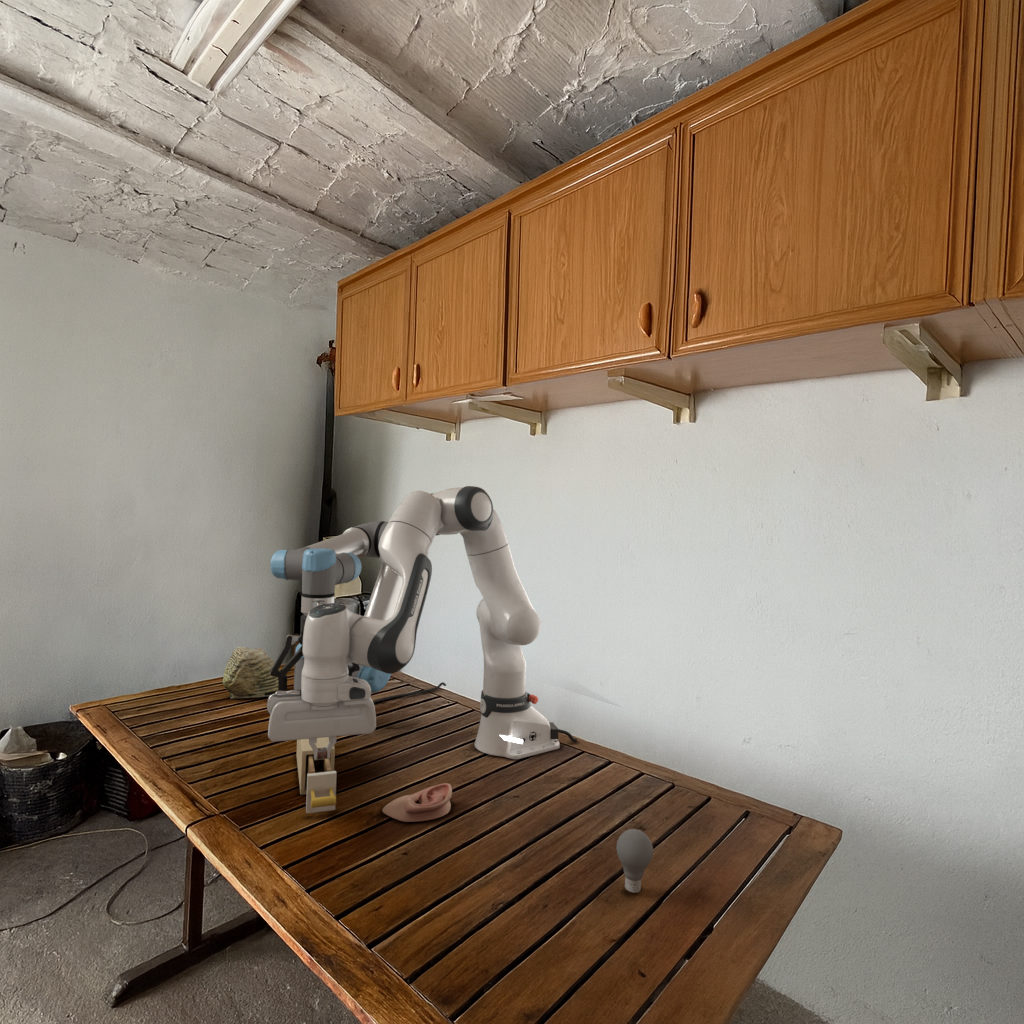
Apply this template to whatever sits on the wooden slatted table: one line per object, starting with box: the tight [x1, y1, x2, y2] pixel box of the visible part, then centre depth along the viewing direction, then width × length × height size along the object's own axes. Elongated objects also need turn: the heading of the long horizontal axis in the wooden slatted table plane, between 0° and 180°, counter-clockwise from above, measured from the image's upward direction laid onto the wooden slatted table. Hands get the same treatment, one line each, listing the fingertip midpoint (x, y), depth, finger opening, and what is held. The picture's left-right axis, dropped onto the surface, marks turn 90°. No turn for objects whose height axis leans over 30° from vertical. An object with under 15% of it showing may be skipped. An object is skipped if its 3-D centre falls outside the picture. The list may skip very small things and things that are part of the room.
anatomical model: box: [382, 782, 453, 823], centre depth 130 cm, size 13×4×12 cm
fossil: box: [222, 646, 279, 699], centre depth 198 cm, size 9×18×15 cm, turn 132°
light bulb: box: [615, 828, 654, 894], centre depth 106 cm, size 6×6×10 cm
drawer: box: [305, 754, 338, 814], centre depth 132 cm, size 26×6×8 cm, turn 21°
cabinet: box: [296, 737, 336, 796], centre depth 145 cm, size 22×7×9 cm, turn 21°
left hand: (314, 702), depth 151 cm, fingers open, 13 cm apart
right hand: (321, 758), depth 124 cm, fingers closed
